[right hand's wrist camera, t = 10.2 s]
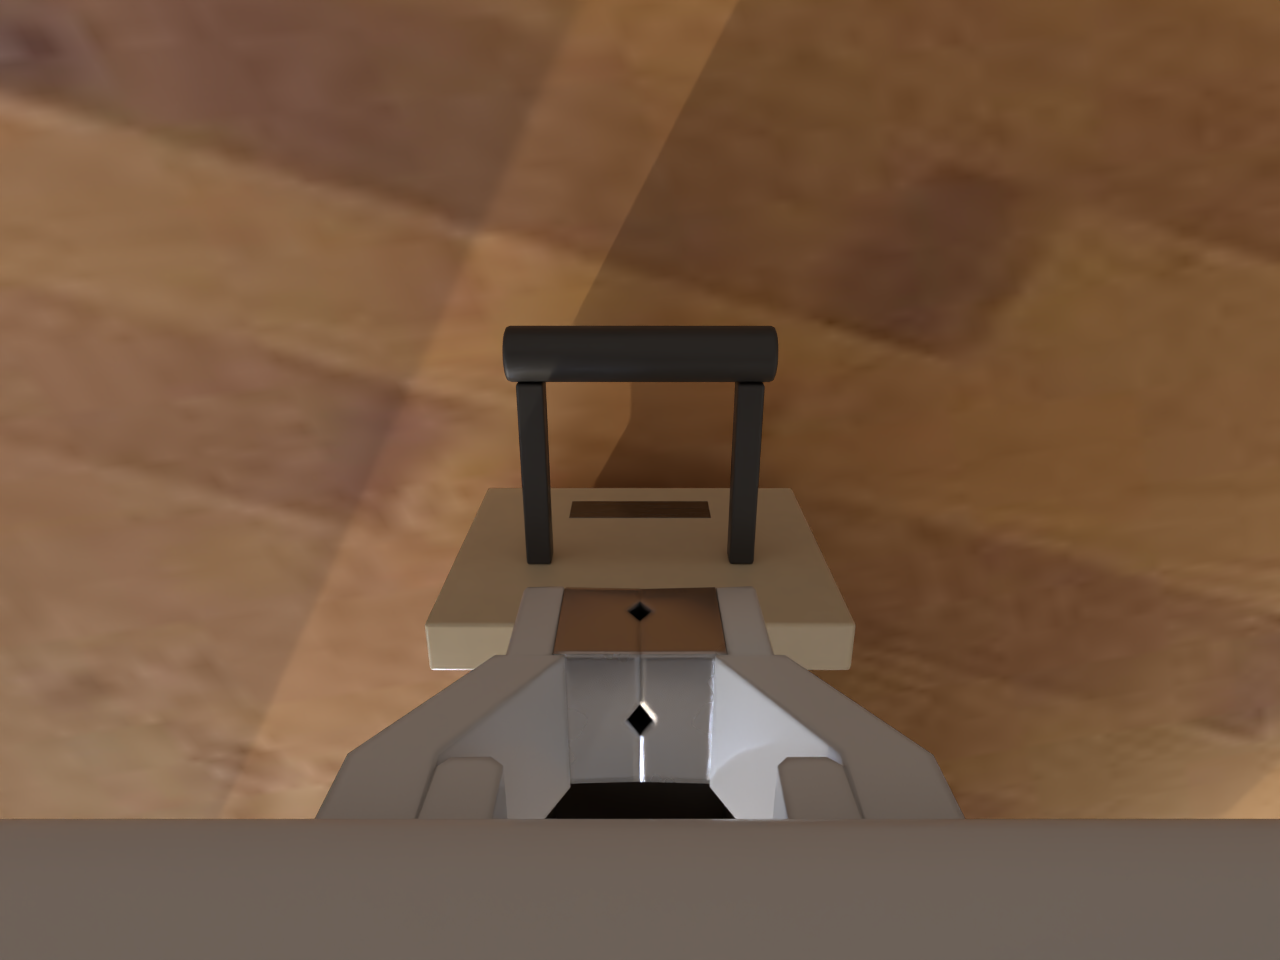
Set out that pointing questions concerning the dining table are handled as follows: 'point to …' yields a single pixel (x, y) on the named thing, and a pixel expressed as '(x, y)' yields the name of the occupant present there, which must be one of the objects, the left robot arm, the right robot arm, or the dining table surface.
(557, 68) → the dining table surface
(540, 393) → the drawer
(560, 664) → the right robot arm
